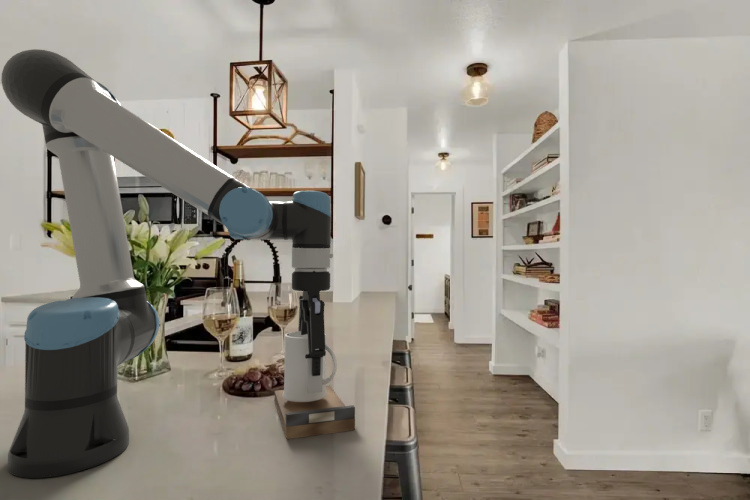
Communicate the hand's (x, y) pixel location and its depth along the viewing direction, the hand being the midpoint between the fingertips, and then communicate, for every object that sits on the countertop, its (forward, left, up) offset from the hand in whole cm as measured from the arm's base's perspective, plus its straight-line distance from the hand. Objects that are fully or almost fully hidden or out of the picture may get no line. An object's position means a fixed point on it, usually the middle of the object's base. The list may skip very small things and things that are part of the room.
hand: (310, 384), depth 83 cm
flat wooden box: (0, -1, -5) cm, 5 cm away
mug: (0, -1, -2) cm, 3 cm away
